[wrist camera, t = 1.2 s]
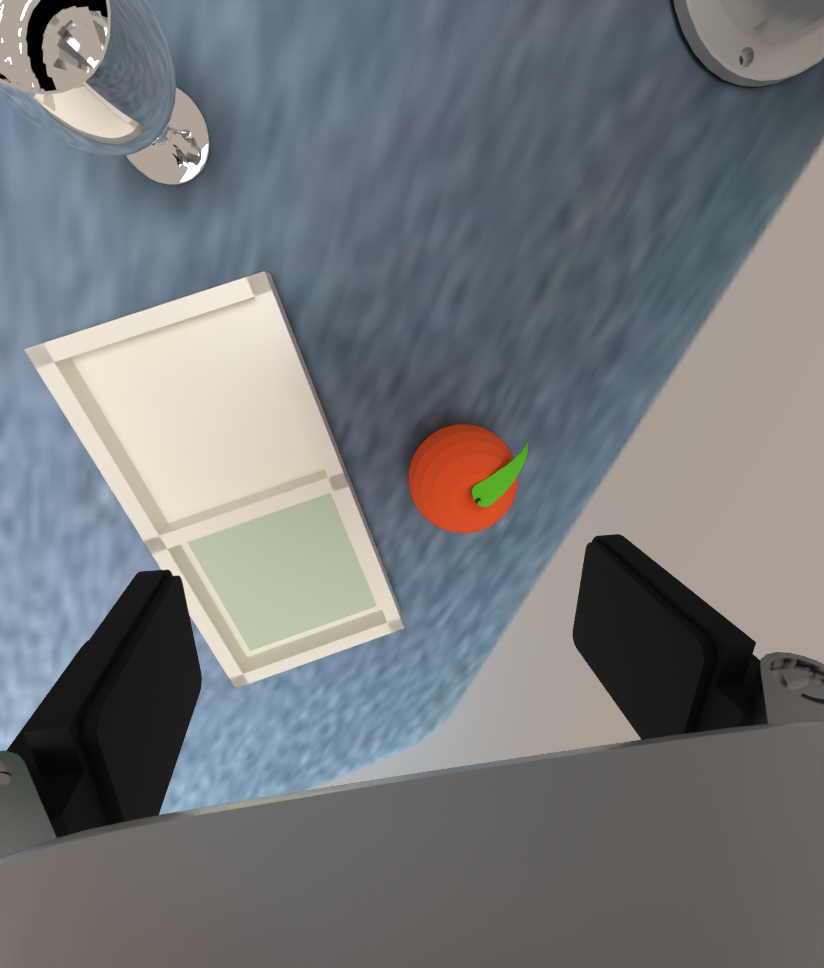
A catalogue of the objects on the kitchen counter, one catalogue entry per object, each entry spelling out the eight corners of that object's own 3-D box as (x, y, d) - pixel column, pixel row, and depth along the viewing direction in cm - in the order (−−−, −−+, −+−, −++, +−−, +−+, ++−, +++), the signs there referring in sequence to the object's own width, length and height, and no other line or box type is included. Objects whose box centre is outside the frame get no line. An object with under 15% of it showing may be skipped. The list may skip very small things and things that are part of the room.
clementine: (474, 382, 31) (512, 403, 24) (526, 458, 34) (573, 495, 27) (381, 455, 32) (393, 495, 25) (438, 524, 34) (464, 576, 28)
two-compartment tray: (270, 273, 27) (264, 271, 24) (399, 607, 37) (404, 628, 34) (50, 345, 26) (24, 349, 24) (241, 663, 36) (235, 688, 34)
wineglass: (223, 208, 25) (139, 137, 14) (106, 188, 24) (-84, 93, 13) (222, 78, 23) (125, -121, 12) (95, 50, 22) (-139, -199, 11)
